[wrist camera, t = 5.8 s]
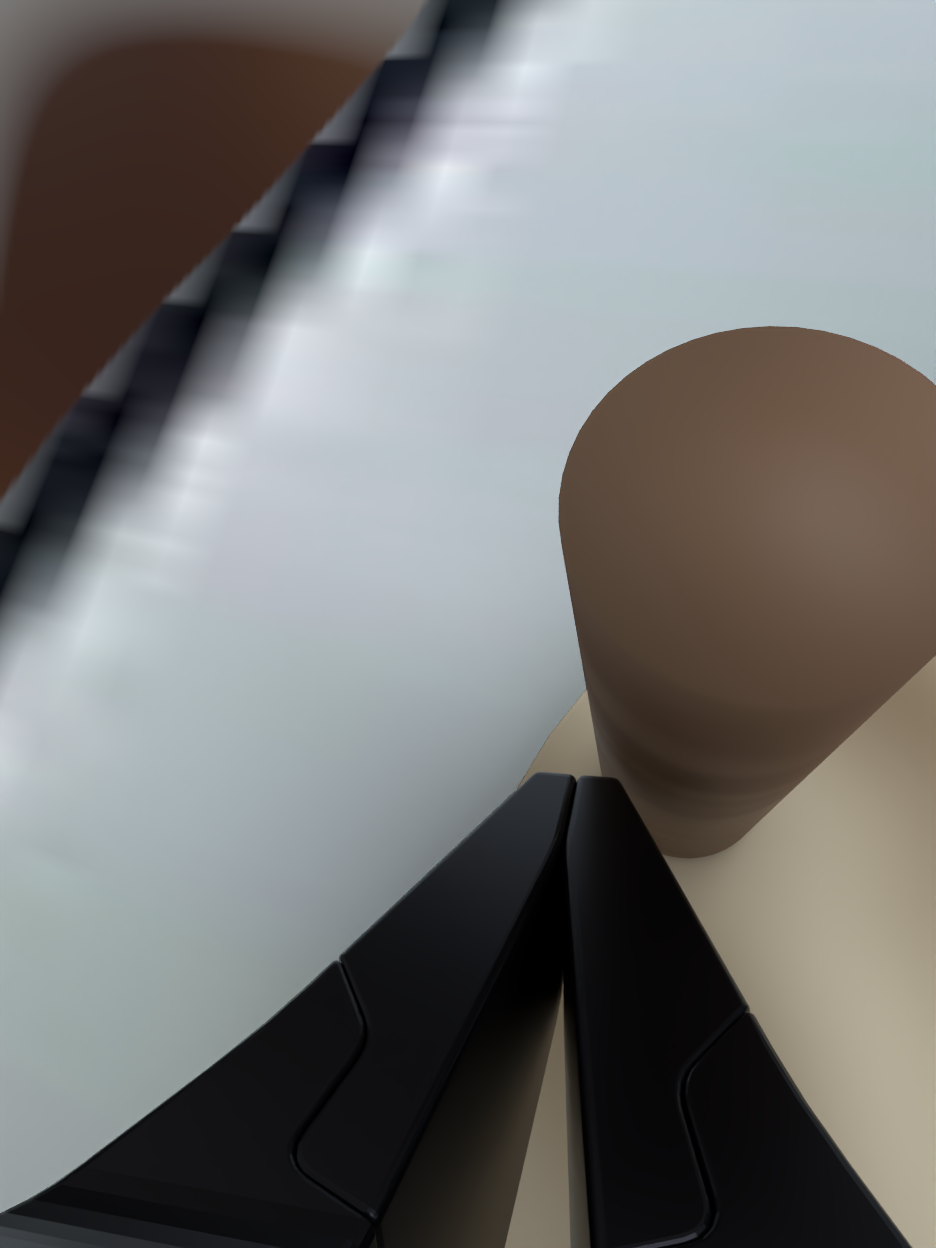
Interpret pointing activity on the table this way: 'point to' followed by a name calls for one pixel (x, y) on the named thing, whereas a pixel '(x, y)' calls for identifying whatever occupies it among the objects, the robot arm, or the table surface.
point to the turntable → (771, 715)
